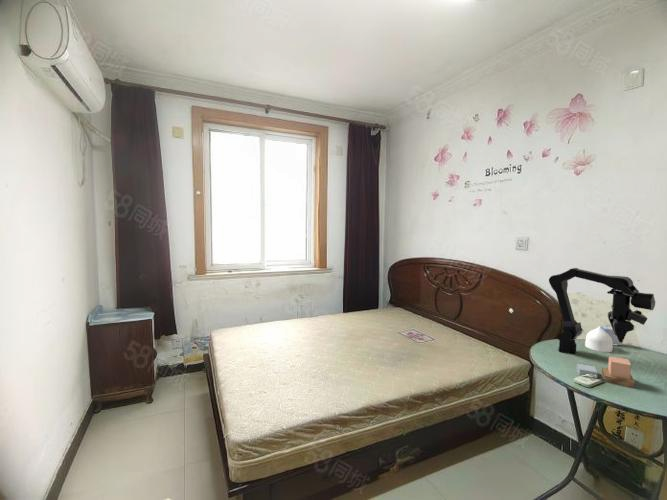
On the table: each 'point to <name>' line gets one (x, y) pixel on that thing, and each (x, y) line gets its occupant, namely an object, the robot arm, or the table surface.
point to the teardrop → (599, 340)
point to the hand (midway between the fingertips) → (618, 338)
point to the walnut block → (617, 379)
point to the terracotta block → (619, 367)
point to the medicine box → (612, 335)
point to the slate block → (586, 369)
